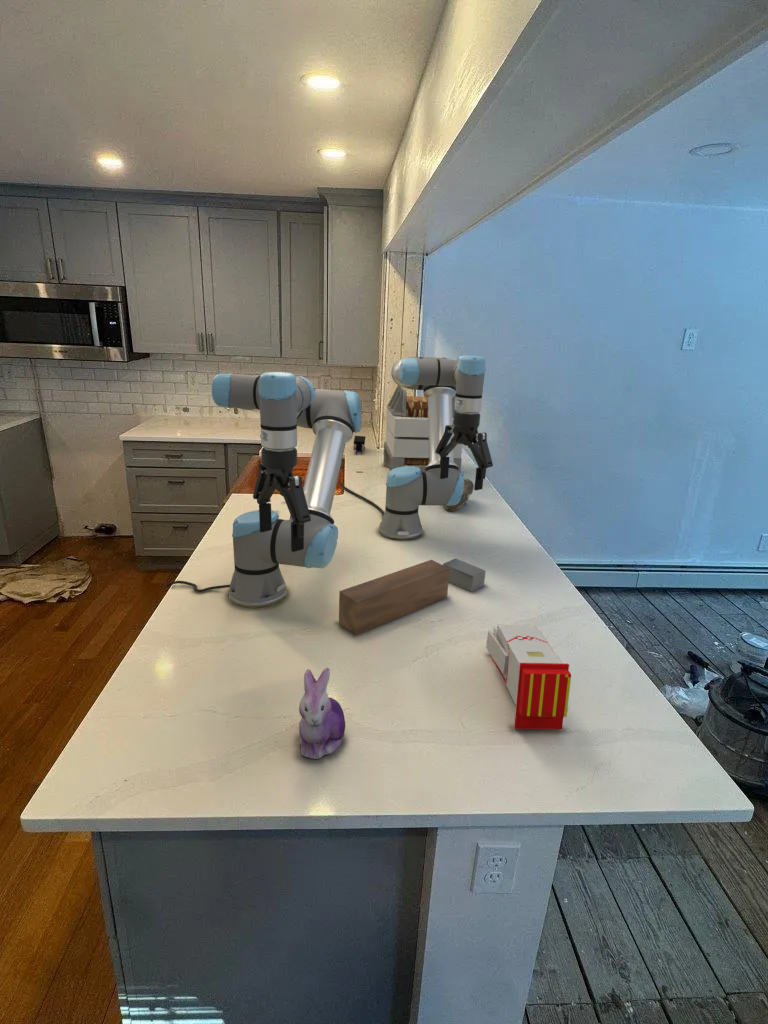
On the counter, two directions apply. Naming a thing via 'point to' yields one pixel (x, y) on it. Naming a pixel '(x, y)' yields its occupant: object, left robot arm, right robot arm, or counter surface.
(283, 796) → the counter surface
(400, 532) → the right robot arm
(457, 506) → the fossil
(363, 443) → the figurine character
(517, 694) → the toy
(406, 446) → the transformer
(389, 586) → the walnut stand
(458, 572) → the grey block
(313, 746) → the figurine
